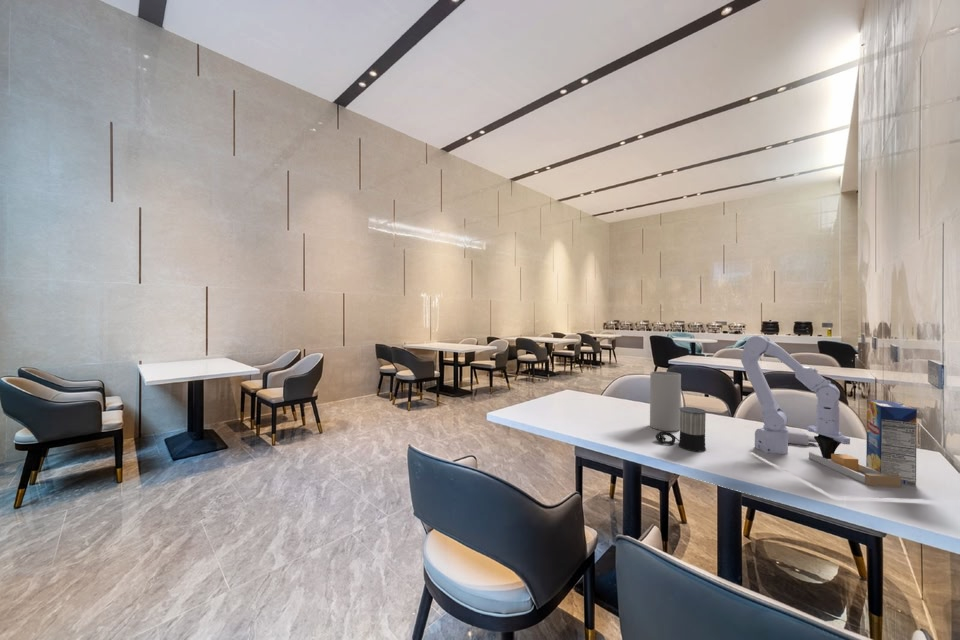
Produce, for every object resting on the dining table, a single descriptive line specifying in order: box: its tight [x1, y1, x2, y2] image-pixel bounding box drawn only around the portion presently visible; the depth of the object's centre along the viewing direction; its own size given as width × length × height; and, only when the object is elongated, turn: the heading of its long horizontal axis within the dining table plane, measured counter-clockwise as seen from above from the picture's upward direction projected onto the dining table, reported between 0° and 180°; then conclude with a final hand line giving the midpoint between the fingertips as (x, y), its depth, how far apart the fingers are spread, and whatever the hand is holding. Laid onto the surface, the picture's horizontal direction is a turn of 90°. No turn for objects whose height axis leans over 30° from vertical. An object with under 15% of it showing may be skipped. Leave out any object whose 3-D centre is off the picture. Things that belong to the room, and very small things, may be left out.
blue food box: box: [865, 398, 918, 487], centre depth 116 cm, size 12×8×24 cm, turn 148°
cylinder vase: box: [649, 371, 682, 432], centre depth 169 cm, size 12×12×25 cm
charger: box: [786, 427, 818, 446], centre depth 150 cm, size 5×9×15 cm
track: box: [808, 451, 901, 488], centre depth 119 cm, size 8×22×4 cm, turn 176°
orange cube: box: [831, 453, 859, 472], centre depth 121 cm, size 4×4×4 cm
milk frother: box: [655, 406, 707, 452], centre depth 145 cm, size 14×16×15 cm
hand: (827, 458), depth 127 cm, fingers closed
